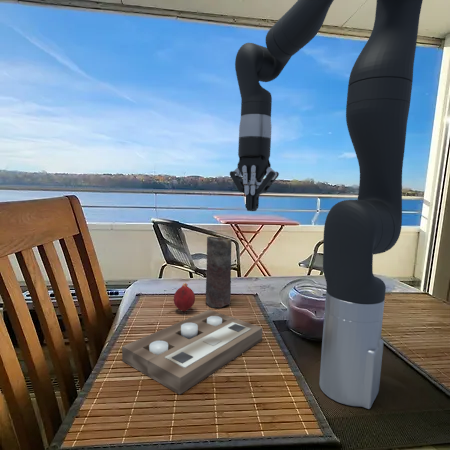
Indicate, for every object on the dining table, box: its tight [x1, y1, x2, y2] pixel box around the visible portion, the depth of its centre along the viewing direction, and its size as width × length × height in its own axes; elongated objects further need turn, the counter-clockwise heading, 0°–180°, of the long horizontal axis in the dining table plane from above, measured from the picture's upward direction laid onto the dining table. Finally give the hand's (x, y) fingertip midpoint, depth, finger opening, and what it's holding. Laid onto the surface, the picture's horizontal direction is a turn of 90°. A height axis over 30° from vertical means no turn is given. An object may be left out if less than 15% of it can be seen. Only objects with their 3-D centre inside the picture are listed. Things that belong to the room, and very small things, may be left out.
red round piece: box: [173, 282, 196, 313], centre depth 90 cm, size 6×6×8 cm
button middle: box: [181, 323, 198, 339], centre depth 71 cm, size 4×4×2 cm
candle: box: [205, 236, 232, 309], centre depth 96 cm, size 8×7×20 cm
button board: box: [121, 309, 263, 395], centre depth 69 cm, size 16×26×3 cm, turn 142°
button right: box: [207, 316, 222, 326], centre depth 78 cm, size 4×4×2 cm
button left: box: [149, 341, 168, 355], centre depth 64 cm, size 4×4×2 cm
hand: (251, 210), depth 79 cm, fingers closed
